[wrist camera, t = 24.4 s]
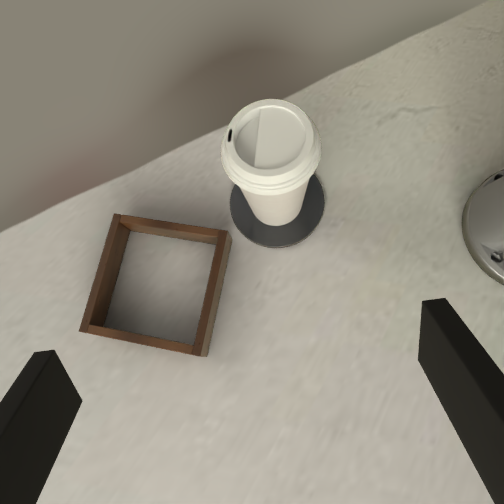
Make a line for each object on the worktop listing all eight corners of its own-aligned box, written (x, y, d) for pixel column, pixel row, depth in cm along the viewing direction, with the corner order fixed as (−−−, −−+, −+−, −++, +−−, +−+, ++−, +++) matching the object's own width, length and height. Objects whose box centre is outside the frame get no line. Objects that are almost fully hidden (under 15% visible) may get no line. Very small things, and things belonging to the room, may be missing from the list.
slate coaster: (330, 167, 50) (330, 165, 49) (316, 255, 47) (316, 253, 46) (240, 156, 52) (240, 153, 51) (222, 240, 49) (221, 238, 48)
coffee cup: (260, 156, 51) (247, 77, 36) (327, 185, 49) (341, 113, 34) (225, 218, 49) (197, 159, 34) (293, 250, 47) (293, 202, 32)
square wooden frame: (232, 239, 49) (227, 230, 45) (207, 356, 45) (200, 356, 42) (125, 222, 51) (113, 213, 47) (93, 333, 47) (78, 331, 44)
